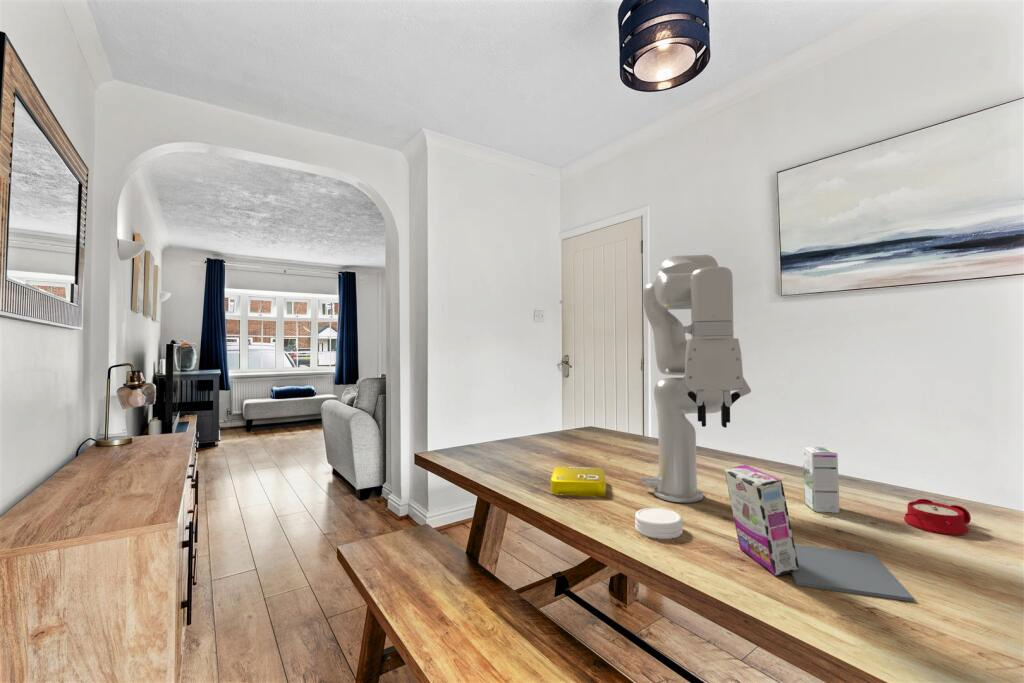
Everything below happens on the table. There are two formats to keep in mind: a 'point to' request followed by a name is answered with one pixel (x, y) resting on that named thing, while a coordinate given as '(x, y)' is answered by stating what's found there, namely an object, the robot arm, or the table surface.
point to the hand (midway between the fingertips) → (713, 425)
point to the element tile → (578, 481)
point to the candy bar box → (762, 518)
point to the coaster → (658, 523)
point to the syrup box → (821, 479)
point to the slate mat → (846, 573)
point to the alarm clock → (937, 517)
